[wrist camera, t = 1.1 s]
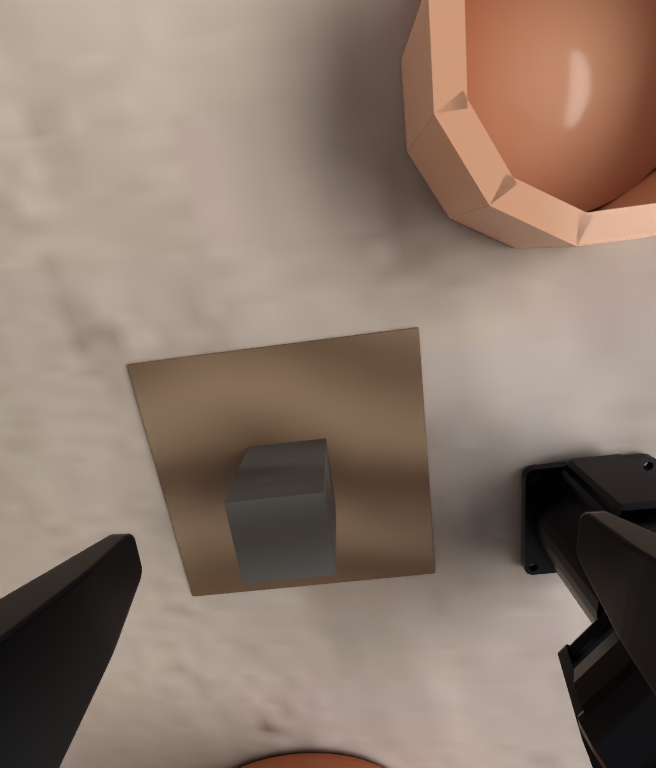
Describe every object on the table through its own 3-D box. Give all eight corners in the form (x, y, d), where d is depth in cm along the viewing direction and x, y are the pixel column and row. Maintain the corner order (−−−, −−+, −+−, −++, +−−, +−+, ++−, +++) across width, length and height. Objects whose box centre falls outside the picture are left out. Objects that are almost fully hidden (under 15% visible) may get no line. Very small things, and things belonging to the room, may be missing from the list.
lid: (431, 563, 24) (460, 654, 19) (197, 585, 25) (158, 680, 20) (415, 325, 20) (446, 352, 15) (134, 360, 21) (62, 400, 15)
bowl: (693, 224, 18) (823, 214, 13) (413, 261, 19) (441, 264, 14) (738, -144, 14) (936, -339, 10) (391, -82, 15) (417, -237, 10)
